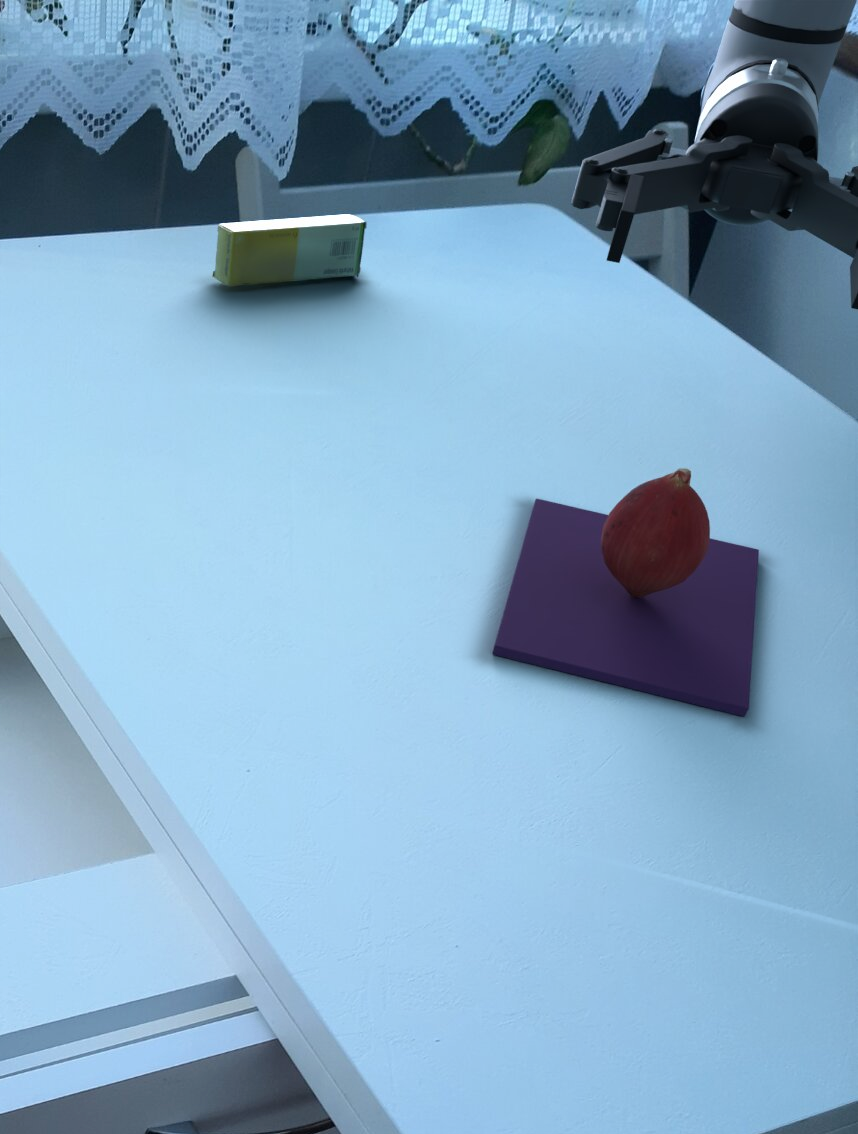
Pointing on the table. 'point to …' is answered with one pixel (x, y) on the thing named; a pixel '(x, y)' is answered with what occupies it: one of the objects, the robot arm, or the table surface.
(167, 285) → the table surface
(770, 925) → the table surface
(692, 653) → the mat
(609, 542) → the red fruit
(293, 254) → the medication box
